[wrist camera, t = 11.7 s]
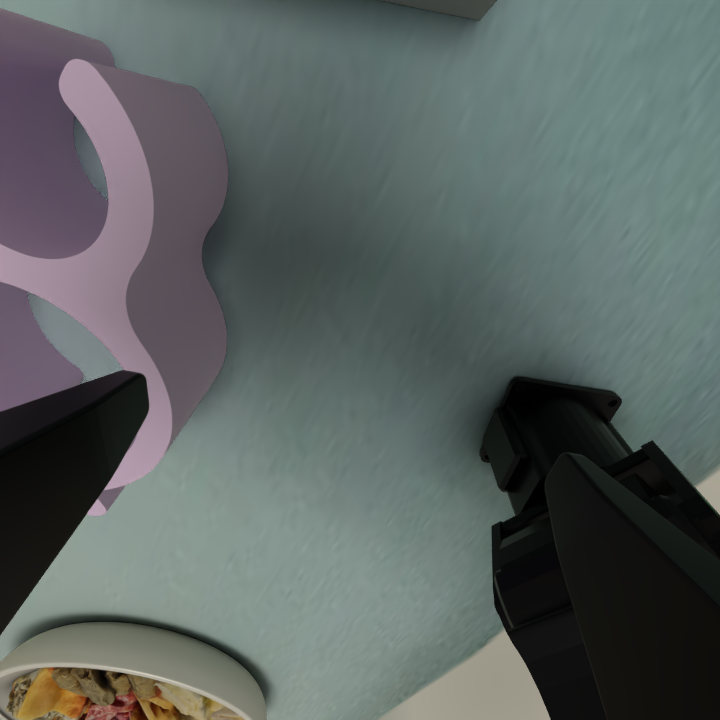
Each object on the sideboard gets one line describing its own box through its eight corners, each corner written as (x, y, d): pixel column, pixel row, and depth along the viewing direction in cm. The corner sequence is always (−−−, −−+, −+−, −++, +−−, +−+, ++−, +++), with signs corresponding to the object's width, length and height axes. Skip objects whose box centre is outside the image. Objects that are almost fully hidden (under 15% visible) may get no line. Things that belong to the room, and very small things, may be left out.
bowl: (40, 571, 36) (-39, 672, 29) (317, 663, 43) (306, 761, 36) (7, 679, 50) (-52, 764, 43) (222, 735, 57) (200, 816, 50)
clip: (-13, -16, 15) (-280, -117, 9) (292, 136, 17) (244, 137, 11) (7, 376, 24) (-114, 455, 18) (199, 442, 26) (147, 532, 21)
